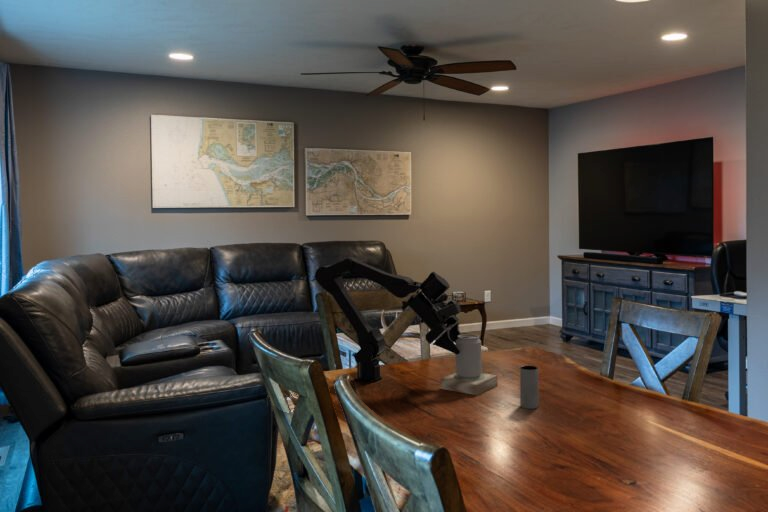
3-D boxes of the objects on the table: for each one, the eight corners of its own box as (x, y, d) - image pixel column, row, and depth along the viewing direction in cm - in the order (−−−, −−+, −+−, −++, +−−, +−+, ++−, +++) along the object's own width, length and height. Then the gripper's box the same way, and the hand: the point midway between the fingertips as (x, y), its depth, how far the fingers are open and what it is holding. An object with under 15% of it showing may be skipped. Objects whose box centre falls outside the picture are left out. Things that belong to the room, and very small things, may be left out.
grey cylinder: (518, 407, 159) (518, 368, 158) (523, 402, 163) (522, 364, 162) (535, 410, 157) (535, 370, 156) (540, 405, 161) (540, 366, 160)
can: (469, 371, 184) (469, 332, 183) (487, 376, 178) (486, 335, 177) (450, 375, 180) (450, 335, 179) (467, 381, 174) (467, 339, 173)
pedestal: (440, 388, 178) (440, 377, 178) (462, 379, 188) (462, 369, 187) (477, 395, 171) (477, 384, 171) (497, 385, 180) (497, 374, 180)
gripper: (436, 296, 171) (475, 338, 168) (452, 288, 189) (487, 326, 186) (409, 323, 174) (447, 364, 171) (427, 313, 192) (462, 350, 189)
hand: (462, 350), depth 179 cm, fingers open, 9 cm apart
